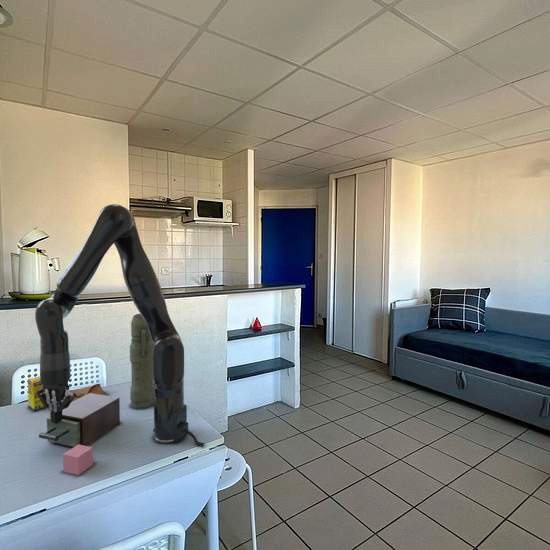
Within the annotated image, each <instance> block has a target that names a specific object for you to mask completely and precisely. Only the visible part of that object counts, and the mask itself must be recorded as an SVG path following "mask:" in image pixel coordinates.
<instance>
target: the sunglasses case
mask: <svg viewBox="0 0 550 550" xmlns="http://www.w3.org/2000/svg"><path fill="white" fill-rule="evenodd" d="M69 391H70V392H71V393H75V394H76V396H75V398H74V399H73V401H75V400H77V399H79V398H81V397H83V396H85V395H87V394H89V393H93V394H99V395H105V396H108V395H107V394H106V393H105V391H104V389H103V388H102V386H101V383H95V384H93V385H90V386H85V387H81V388H76V389H73V390H69ZM73 401H72V402H73Z"/></svg>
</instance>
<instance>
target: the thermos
mask: <svg viewBox="0 0 550 550" xmlns="http://www.w3.org/2000/svg"><path fill="white" fill-rule="evenodd" d="M130 335H131V340H130V346H129V361H130V364H131V365H130V366H131V385H130V391H129V393H130V396H129V397H130V407H131V408H132V409H135V410H142V409H143V410H144V409H148V408H151V407H153V406H154V380H153V342H152V338H151V335H150V331H149V328H148V326H147V324H146V322H145V320H144V318H143V317H142V315H141V314H140V313H136V314H135V315H133V317H132V319H131V322H130Z"/></svg>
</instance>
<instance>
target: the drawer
mask: <svg viewBox="0 0 550 550" xmlns="http://www.w3.org/2000/svg"><path fill="white" fill-rule="evenodd" d="M38 438H39V439H42V440H47V442H49V443H55V444H58V445H59V444H60V445H64V446H69V447H72V448H74V447H75V446H77V445H78V444H79V445H80V441H81V421H80V420H74V419H69V418H64V417H62V421H61V422H59V423H57V424H53V423H52V421H51V417H50V416H48V417H46V431H44V432H40V433H39V434H38Z"/></svg>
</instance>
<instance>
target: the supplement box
mask: <svg viewBox="0 0 550 550" xmlns="http://www.w3.org/2000/svg"><path fill="white" fill-rule="evenodd" d="M42 386H43V384H41V382H40V375H39V376H36V377H32V378H31V377H30V378H27V403H28V405H27V406H28V408H29V409H31V410H32V411H33V412H37V411H39V410H44V409H46V408H45V407H44V406H43V404H42V402H41V400H40V399H39V397H38V395H37V393H36V391H38V390H40V389H42V388H43V387H42ZM46 402H47V400H46Z"/></svg>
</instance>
